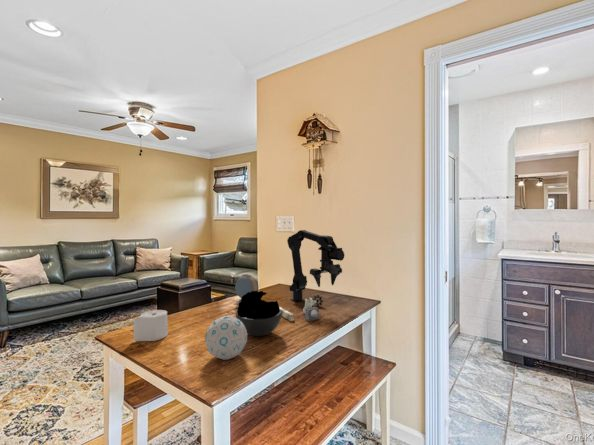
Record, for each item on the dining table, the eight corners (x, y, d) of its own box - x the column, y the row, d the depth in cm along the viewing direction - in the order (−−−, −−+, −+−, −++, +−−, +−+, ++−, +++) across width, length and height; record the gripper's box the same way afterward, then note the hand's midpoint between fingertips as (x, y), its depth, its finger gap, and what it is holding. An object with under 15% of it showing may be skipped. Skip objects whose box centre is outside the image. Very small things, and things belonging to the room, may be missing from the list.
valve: (311, 312, 163) (323, 307, 173) (311, 300, 163) (323, 295, 173) (301, 310, 167) (313, 304, 177) (301, 298, 167) (313, 293, 177)
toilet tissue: (172, 332, 136) (172, 310, 136) (155, 343, 124) (154, 319, 124) (151, 330, 138) (151, 309, 138) (132, 341, 126) (131, 318, 126)
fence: (273, 311, 165) (273, 305, 165) (276, 310, 166) (276, 305, 166) (290, 321, 150) (290, 315, 150) (293, 320, 151) (293, 314, 151)
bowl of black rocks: (257, 323, 147) (257, 284, 147) (291, 332, 136) (290, 290, 135) (226, 336, 131) (225, 293, 130) (260, 348, 119) (260, 301, 119)
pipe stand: (301, 317, 155) (301, 306, 155) (310, 315, 158) (310, 304, 158) (309, 321, 149) (309, 310, 148) (319, 319, 152) (319, 308, 152)
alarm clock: (261, 303, 180) (261, 273, 179) (250, 307, 171) (250, 276, 171) (243, 300, 187) (243, 271, 187) (232, 304, 179) (231, 274, 178)
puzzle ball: (196, 360, 110) (196, 319, 109) (226, 345, 123) (226, 308, 122) (227, 371, 102) (226, 327, 101) (255, 354, 115) (255, 314, 114)
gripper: (320, 261, 158) (320, 291, 159) (348, 259, 167) (348, 287, 168) (309, 258, 168) (308, 286, 168) (336, 256, 177) (335, 283, 178)
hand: (325, 286), depth 170 cm, fingers open, 9 cm apart
